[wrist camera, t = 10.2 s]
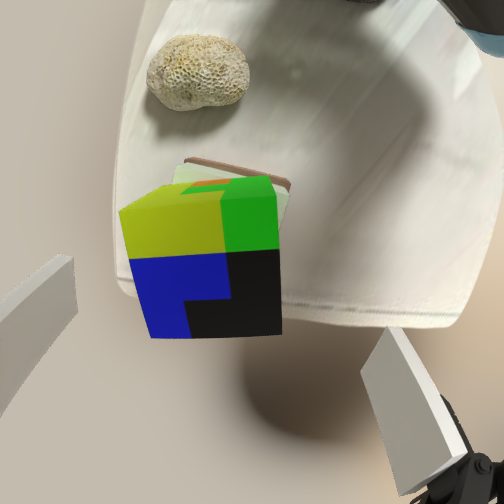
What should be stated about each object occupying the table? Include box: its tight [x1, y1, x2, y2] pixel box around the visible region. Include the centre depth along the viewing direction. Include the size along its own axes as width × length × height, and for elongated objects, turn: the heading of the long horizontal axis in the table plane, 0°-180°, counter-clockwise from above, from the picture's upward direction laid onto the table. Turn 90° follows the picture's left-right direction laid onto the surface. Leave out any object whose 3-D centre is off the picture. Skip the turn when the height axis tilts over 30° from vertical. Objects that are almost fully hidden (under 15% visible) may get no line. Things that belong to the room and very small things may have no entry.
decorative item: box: [146, 35, 250, 111], centre depth 28 cm, size 12×9×10 cm
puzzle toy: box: [119, 176, 282, 339], centre depth 23 cm, size 10×10×10 cm
